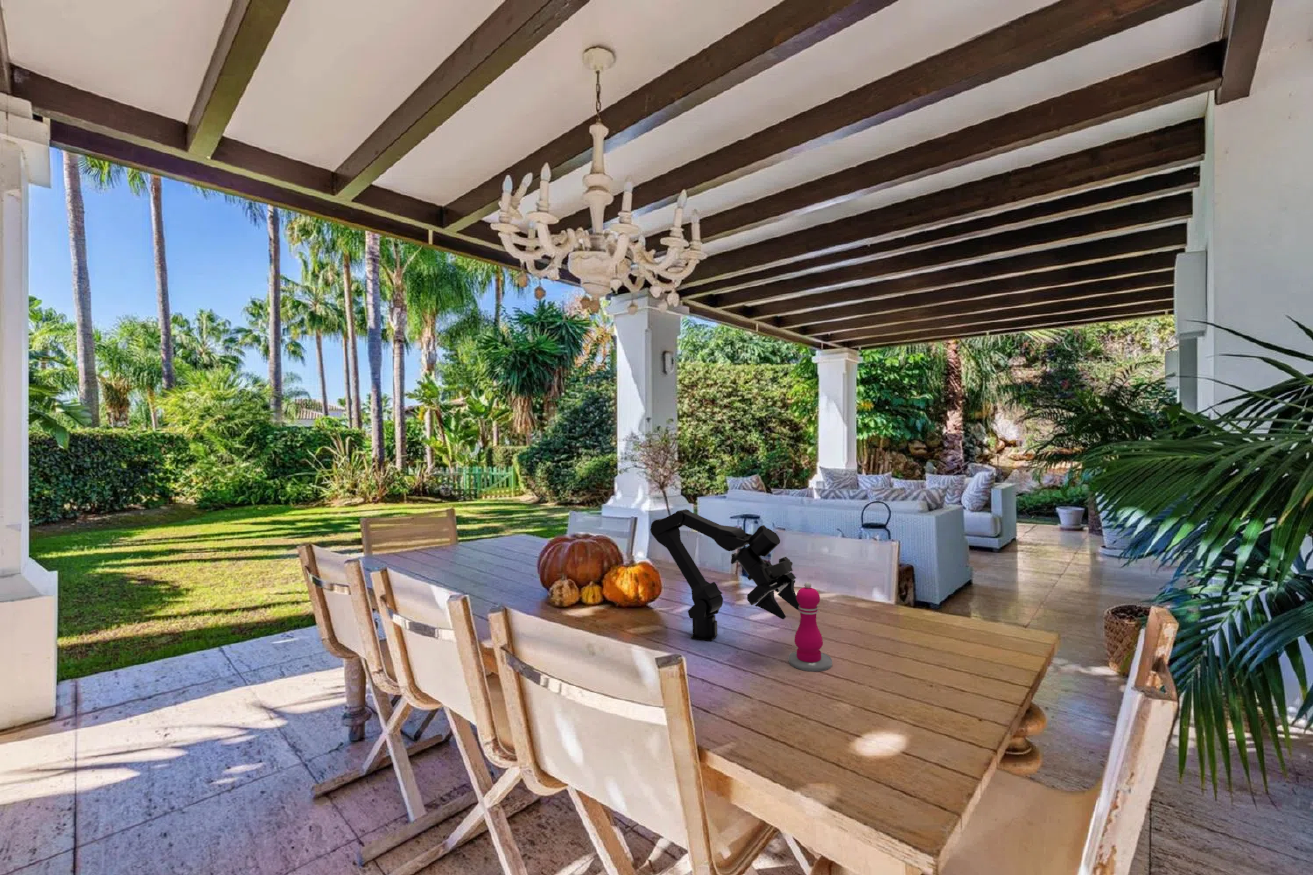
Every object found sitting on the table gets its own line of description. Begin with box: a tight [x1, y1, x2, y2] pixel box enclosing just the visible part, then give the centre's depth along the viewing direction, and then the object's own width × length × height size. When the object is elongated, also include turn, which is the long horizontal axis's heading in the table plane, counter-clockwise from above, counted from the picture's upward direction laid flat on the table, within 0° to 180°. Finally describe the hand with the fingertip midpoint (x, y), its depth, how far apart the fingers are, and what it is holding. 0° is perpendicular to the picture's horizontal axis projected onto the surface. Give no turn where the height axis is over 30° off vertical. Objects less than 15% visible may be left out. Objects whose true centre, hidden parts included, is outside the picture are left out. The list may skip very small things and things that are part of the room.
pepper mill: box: [794, 581, 824, 662], centre depth 152 cm, size 7×7×20 cm
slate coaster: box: [788, 650, 833, 673], centre depth 152 cm, size 11×11×1 cm
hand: (792, 613), depth 155 cm, fingers open, 9 cm apart
